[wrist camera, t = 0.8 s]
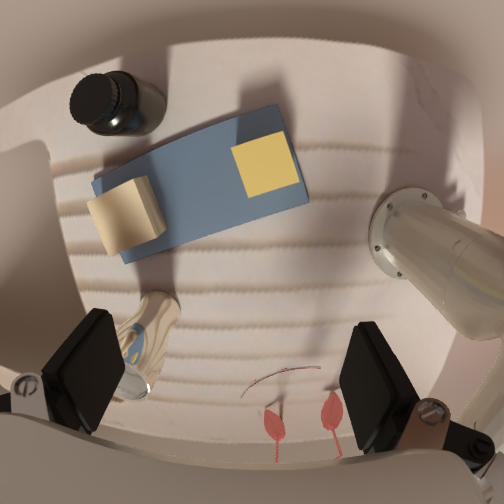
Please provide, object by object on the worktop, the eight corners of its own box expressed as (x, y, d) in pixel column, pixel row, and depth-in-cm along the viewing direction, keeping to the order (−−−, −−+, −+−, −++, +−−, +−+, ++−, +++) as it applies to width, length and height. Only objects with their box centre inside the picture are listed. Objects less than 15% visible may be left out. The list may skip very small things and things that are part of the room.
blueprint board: (276, 105, 29) (276, 104, 28) (308, 201, 33) (309, 202, 32) (93, 181, 32) (90, 182, 32) (127, 262, 36) (124, 264, 35)
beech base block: (146, 175, 31) (133, 178, 28) (167, 228, 34) (156, 237, 30) (102, 196, 32) (86, 202, 29) (122, 245, 34) (109, 256, 31)
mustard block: (278, 135, 30) (282, 130, 24) (292, 176, 31) (299, 181, 26) (235, 148, 30) (230, 147, 25) (250, 189, 32) (248, 198, 26)
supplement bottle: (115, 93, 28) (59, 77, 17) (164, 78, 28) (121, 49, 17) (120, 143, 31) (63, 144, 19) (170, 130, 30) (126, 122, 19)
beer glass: (129, 298, 38) (80, 363, 24) (165, 279, 37) (121, 348, 23) (156, 334, 40) (121, 406, 26) (193, 319, 39) (165, 397, 25)
